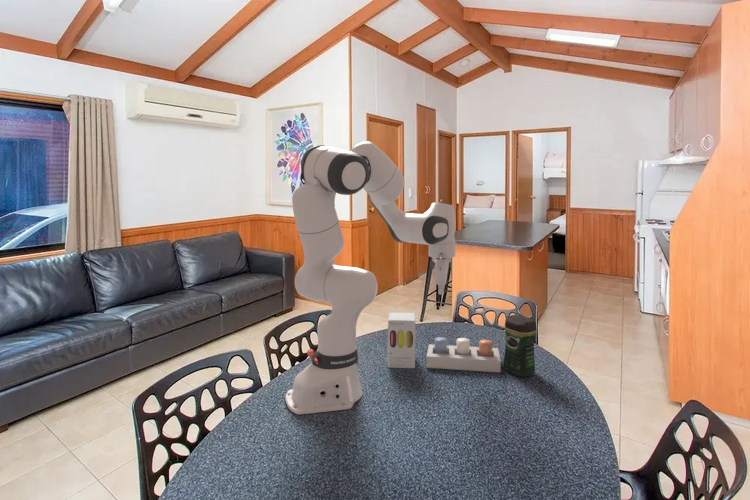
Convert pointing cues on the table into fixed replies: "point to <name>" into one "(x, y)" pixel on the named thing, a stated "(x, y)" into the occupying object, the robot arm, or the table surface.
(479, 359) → the white boxy piece
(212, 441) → the table surface
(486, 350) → the terracotta key
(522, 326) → the coffee jar
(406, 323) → the supplement box
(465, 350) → the ivory key
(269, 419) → the table surface
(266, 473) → the table surface
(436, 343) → the slate blue key
